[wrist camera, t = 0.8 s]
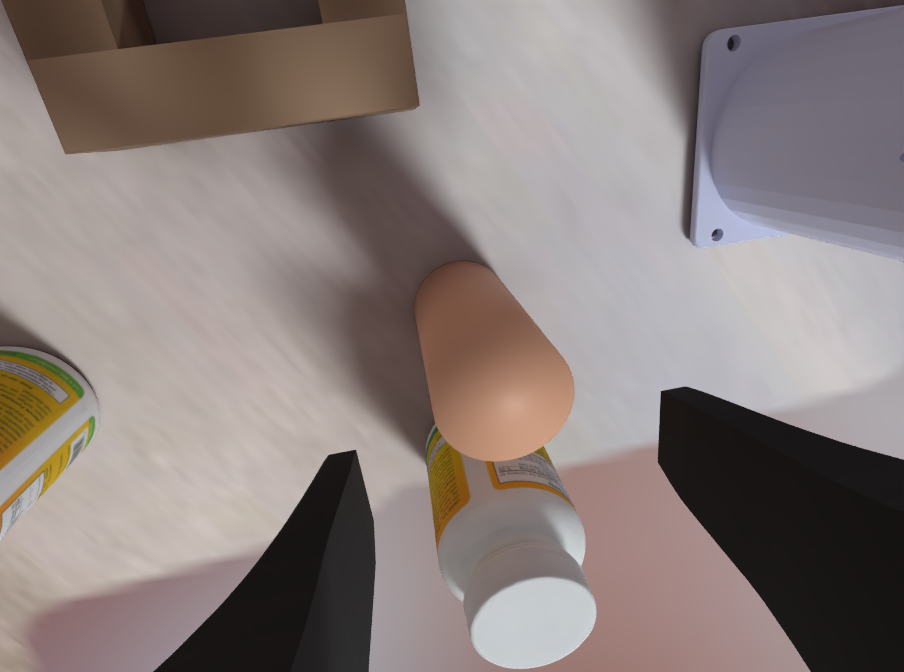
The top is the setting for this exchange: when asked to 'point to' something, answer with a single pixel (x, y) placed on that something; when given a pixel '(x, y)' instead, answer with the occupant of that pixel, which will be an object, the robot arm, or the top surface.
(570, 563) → the supplement bottle
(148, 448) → the top surface
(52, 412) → the supplement bottle
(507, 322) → the peg
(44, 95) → the socket
